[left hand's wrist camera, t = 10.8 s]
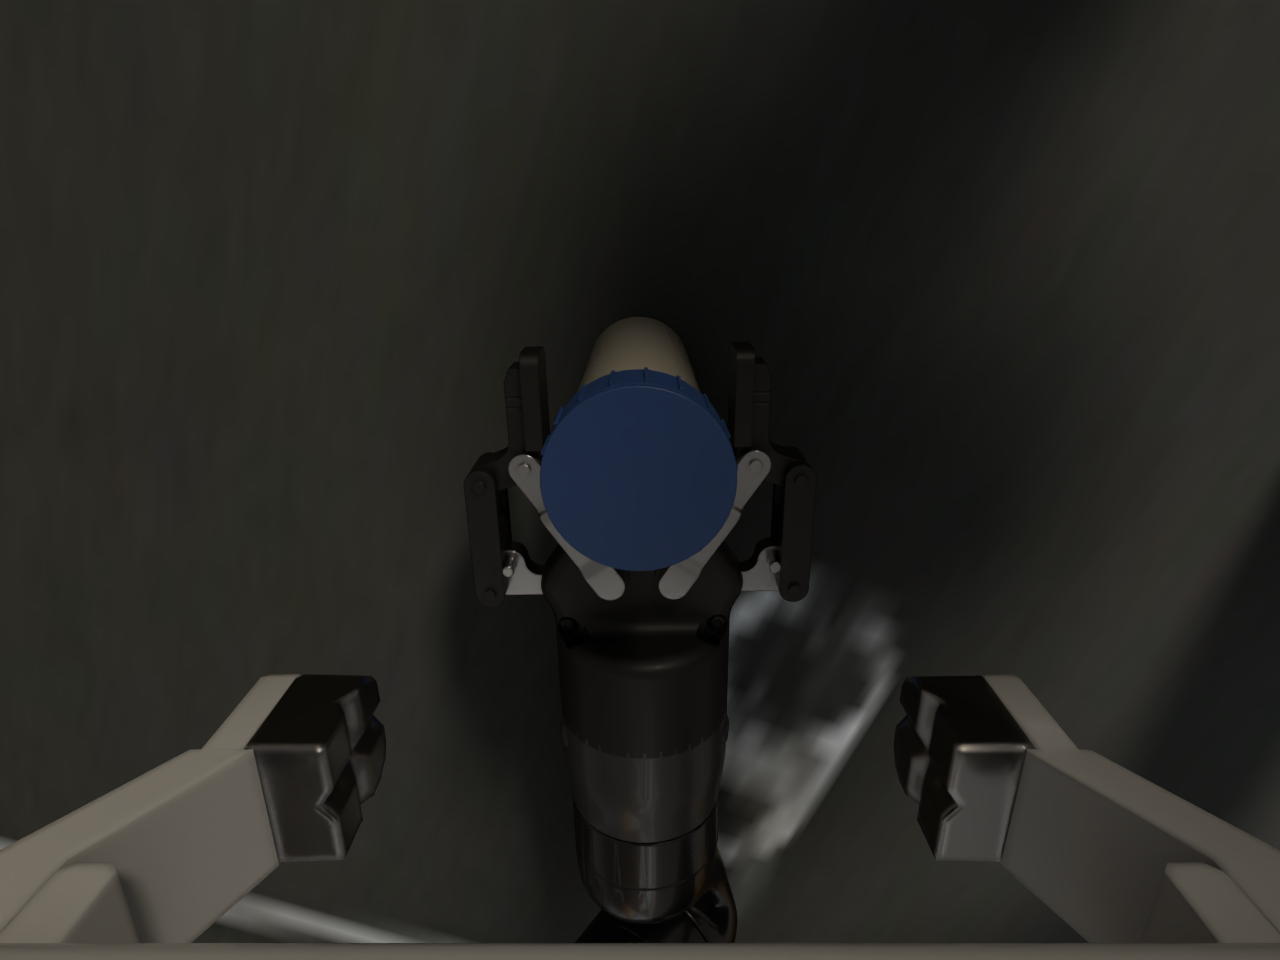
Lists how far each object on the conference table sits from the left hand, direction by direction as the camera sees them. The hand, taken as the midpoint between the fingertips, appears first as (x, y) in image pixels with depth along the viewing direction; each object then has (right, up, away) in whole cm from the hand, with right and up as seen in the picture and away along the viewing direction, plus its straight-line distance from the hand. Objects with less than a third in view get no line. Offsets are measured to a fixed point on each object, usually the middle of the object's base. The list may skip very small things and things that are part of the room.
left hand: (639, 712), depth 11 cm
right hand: (0, +8, +17) cm, 19 cm away
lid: (0, +3, +9) cm, 10 cm away
